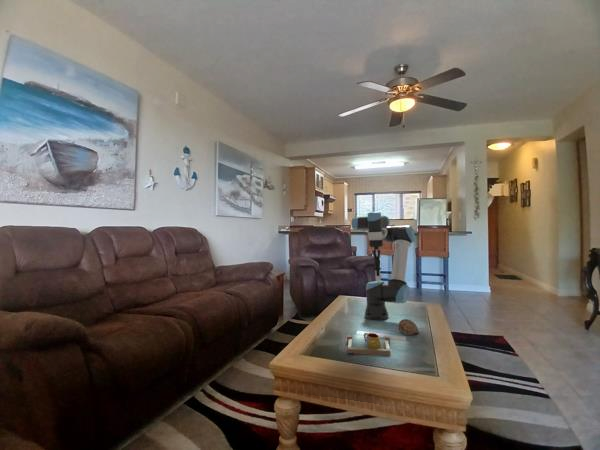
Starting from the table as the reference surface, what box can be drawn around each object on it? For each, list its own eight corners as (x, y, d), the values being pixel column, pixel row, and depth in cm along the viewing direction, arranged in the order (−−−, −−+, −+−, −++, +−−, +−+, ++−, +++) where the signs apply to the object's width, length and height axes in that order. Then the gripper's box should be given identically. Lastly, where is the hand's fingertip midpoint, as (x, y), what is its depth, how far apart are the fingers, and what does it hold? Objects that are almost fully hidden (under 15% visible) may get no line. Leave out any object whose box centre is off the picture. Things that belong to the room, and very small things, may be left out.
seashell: (423, 335, 158) (411, 318, 159) (408, 343, 159) (397, 327, 160) (418, 328, 168) (407, 313, 169) (404, 336, 169) (394, 321, 170)
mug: (384, 350, 141) (383, 336, 141) (370, 352, 139) (370, 338, 139) (371, 342, 152) (371, 329, 153) (359, 344, 151) (358, 330, 151)
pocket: (347, 341, 154) (347, 335, 154) (389, 343, 150) (389, 336, 150) (345, 353, 139) (345, 346, 139) (392, 355, 135) (392, 348, 135)
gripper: (368, 239, 176) (371, 279, 176) (369, 240, 164) (371, 283, 164) (381, 238, 175) (384, 279, 175) (383, 239, 162) (386, 283, 162)
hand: (378, 281), depth 169 cm, fingers closed
